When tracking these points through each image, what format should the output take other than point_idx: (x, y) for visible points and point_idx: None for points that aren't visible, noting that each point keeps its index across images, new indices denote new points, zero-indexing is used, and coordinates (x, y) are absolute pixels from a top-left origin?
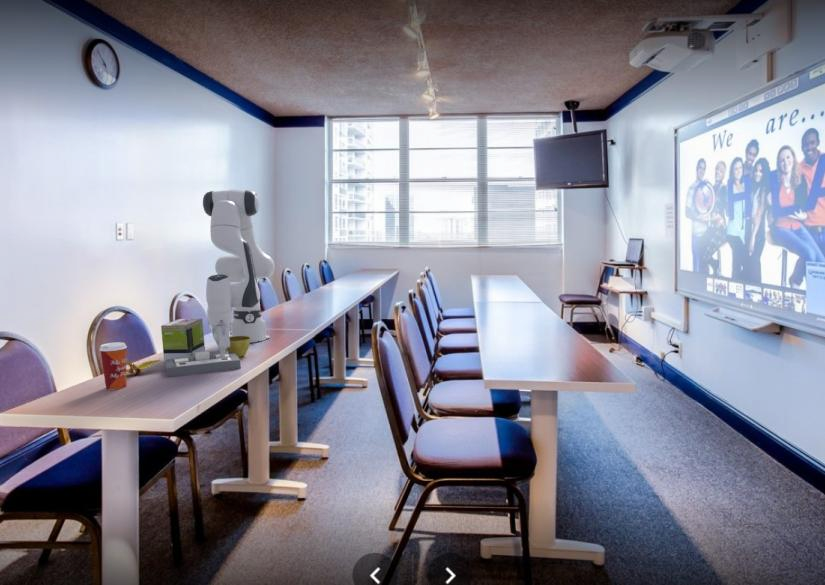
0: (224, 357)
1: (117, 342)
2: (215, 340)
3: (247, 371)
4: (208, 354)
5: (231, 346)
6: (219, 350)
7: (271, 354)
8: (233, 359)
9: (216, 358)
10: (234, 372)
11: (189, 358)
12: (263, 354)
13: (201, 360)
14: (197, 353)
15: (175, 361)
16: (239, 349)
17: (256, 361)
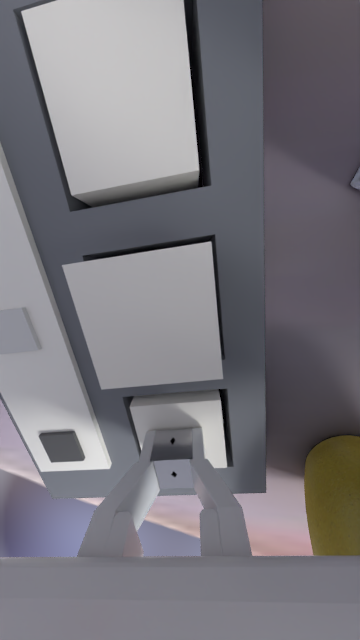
0: (141, 441)
1: None
2: (268, 604)
3: (22, 469)
4: (102, 378)
5: (340, 527)
6: (190, 463)
7: (284, 553)
8: (72, 476)
9: (142, 399)
10: (11, 431)
11: (201, 189)
12: (302, 535)
13: (52, 311)
14: (146, 278)
15: (48, 16)
16: (308, 524)
17: (181, 505)
